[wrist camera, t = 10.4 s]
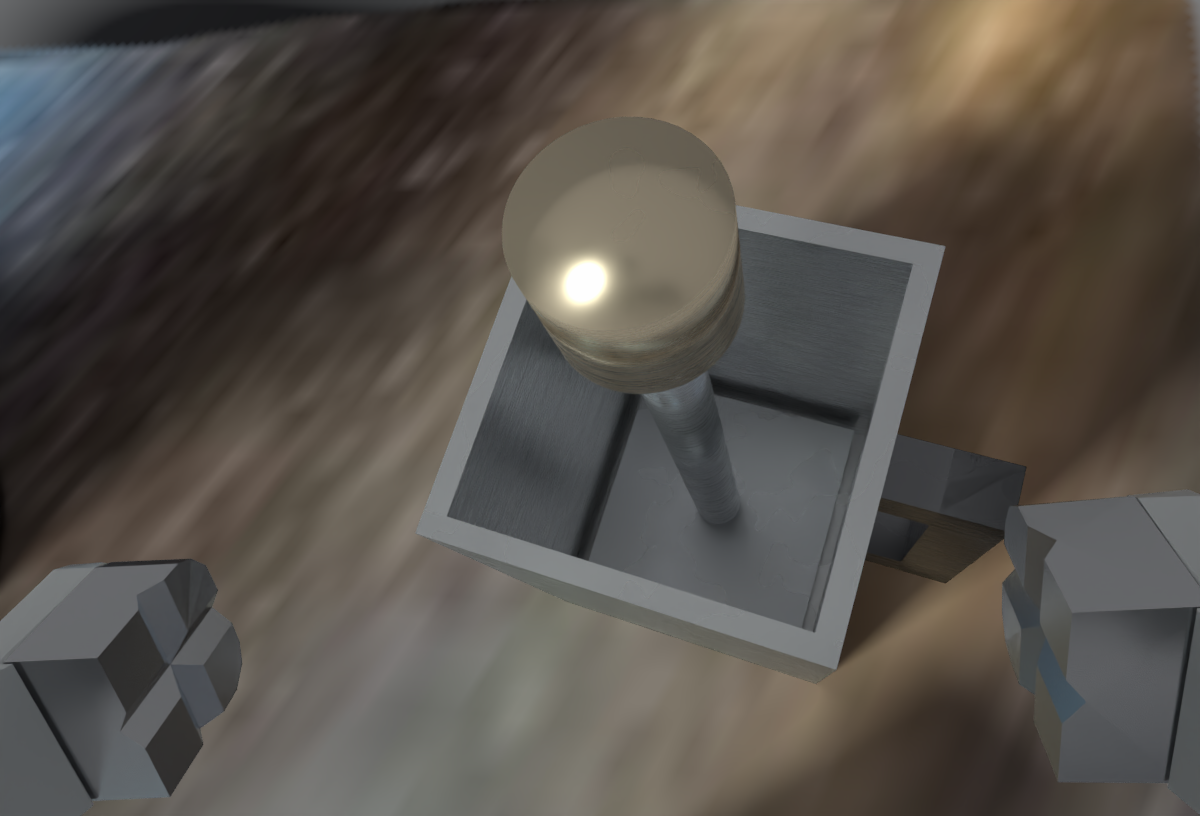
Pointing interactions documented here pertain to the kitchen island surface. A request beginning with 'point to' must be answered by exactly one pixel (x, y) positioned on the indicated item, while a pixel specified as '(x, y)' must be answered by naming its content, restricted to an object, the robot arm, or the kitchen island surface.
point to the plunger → (672, 365)
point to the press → (748, 374)
